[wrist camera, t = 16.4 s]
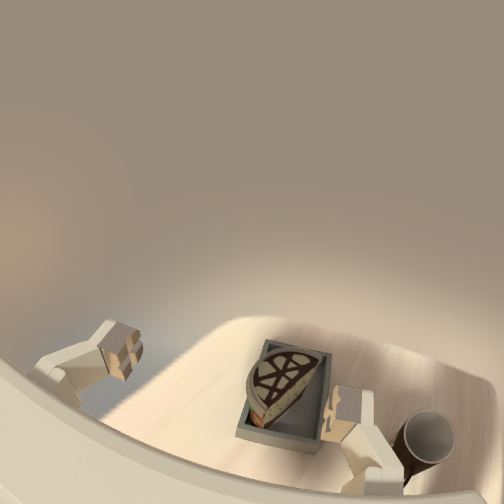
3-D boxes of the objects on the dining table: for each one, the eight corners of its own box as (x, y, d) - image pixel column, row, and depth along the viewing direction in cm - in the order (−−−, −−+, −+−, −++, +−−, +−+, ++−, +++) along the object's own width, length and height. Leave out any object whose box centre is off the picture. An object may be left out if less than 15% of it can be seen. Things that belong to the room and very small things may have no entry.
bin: (326, 366, 51) (331, 354, 49) (314, 454, 36) (321, 445, 34) (262, 352, 52) (265, 339, 51) (235, 436, 38) (236, 427, 36)
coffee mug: (399, 432, 38) (430, 399, 33) (427, 467, 32) (465, 439, 27) (345, 467, 34) (374, 440, 29) (375, 508, 27) (413, 489, 22)
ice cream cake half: (278, 371, 48) (290, 330, 42) (307, 393, 44) (324, 354, 39) (222, 414, 40) (226, 377, 34) (253, 441, 36) (263, 409, 31)
